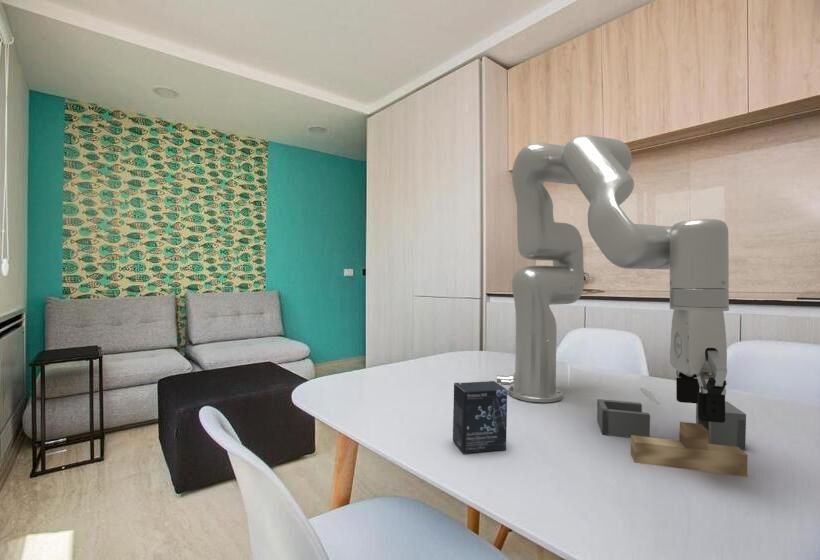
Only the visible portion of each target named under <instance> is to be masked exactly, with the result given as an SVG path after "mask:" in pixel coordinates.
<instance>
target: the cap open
mask: <svg viewBox="0 0 820 560" xmlns="http://www.w3.org/2000/svg"><path fill="white" fill-rule="evenodd" d="M596 406H597V411H596V412H597V413H596V421H597V425H598V426H599V429H601V430H600V432H601V434H602V435H603V436H614V437H623V438H630V439H631V435H635V436H644V437H650V435H651V414H650V413H649V412H644V411H643V404H642V403H641V402H635V401H623V400H613V399H602V398H597V405H596ZM642 411H643V412H642Z"/></svg>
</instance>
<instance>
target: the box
mask: <svg viewBox="0 0 820 560" xmlns="http://www.w3.org/2000/svg"><path fill="white" fill-rule="evenodd" d="M452 414H453V415H452V416H453V417H452V441H453V442H454V444H455V445H456V447H457V449H459V451H460V452H461V453H462V454H463V455H465V454H469V453H470V454H471V453H472V454H473V453H481V452H493V451H506V449H507V426H508V425H507V417H508V389H507V388H506V387H504V386H503V385H501V384H500V383H497V381H495V380H490V381H472V382H471V381H470V382H454V383H453V412H452Z"/></svg>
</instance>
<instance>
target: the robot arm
mask: <svg viewBox="0 0 820 560" xmlns="http://www.w3.org/2000/svg"><path fill="white" fill-rule="evenodd" d="M632 156H633V155H632V152H631V149H630V148H629V146H628V145H627V144H626V143H625V142H624V141H622V140H619V139H616V138H610V137H604V136H599V135H589V134H584V135H579V136H575V137H574V138H572V139H570V140H568V142H567V143H565V145H560V144H555V143H554V144H553V143H547V142H546V143H545V142H544V143H543V142H539V143H538V142H537V143H531V144H527V145H526V146H524V147H523V148H521V149H520V150H519V152H518V153H517V155H516V157H515V159H514V162H513V166H512V169H511V170H512V171H511V173H512V174H511V179H512V187H513V192H514V197H515V202H516V224H517V225H516V227H517V228H516V231H517V234H516V235H517V237H516V238H517V248H518V253H519V255H520V256H521V257H522V258H524V259H526V260H531V261H547V262H548V261H551V262H552V265H527V266H524V267H522V268H520V269H518V270H516V272H515V274H514V275H513V277H512V279H511V280H512V281H511V288H512V295H513V300H514V309H515V360H514V361H515V363H514V364H515V365H514V366H515V371H514V373H513V374H511V375H509V376H505V375H496V383H498V384H500V385H501V386H509V387H508V394H509V396H511V397H512V398H514V399H517V400H521V401H524V402H532V403H542V404H543V403H554V402H559V401H561V400H562V399H563V392H562V391H561V390H560V389H558V388H557V386H556V385H557V336H558V335H557V329H558V328H557V320H556V318H555V315H554V313H553V311H552V310H551V307H550V306H551V305H569V304H574V303H576V302H577V301H579V299H580V298H581V297H582V295H583V291H584V284H585V282H584V280H585V279H584V278H585V277H584V276H585V275H584V274H585V271H584V246H583V245H584V244H583V238H582V235H581V234H580V231H579V230H578V228H577V227H576V226H575V225H574V224H570V223H566V222H557V221H555V219H554V204H553V200H552V197H551V195H550V193H549V191H548V189H547V188H546V186H545V185H544V182H547V183H555V184H556V183H557V184H566V185H576V186H577V188H578V189H579V190H580V192H581V194H583V196H584V198H585V199H586V200H587V202H588V203H589V206H588V210H587V227H588V232H589V234H590V236H591V238H592V240H593V241H594V243H595V244H596V246H597V247H598V249H599V251H600V252H601V253H602V254H603V256H604V257H605V258H606V259H607V260H608V261H609V262H610V263H611V264H613V265H615V266H617V267H619V268H622V269H627V270H628V269H633V270H641V269H642V270H669V309H670V310H672V311H673V312H672V319H671V330H670V331H671V332H670V348H669V349H670V350H669V351H670V353H669V354H670V355H669V363H670V366H671V367H672V368H674V369H675V370H676V371H675V372H676V373H675V374H676V377H675V378H676V381H675V382H676V384H675V385H676V386H675V387H676V388H675V389H676V390H675V391H676V401H677V402H679V403H682V404H683V403H685V404H696V403H698V419H699V420H701V421H708V422H720V423H723V422H725V401H726V394H727V389H726V386H727V384H728V383H727V380H726V378H727V375H728V365H727V364H728V352H727V351H728V349H727V334H726V333H727V332H726V322H725V315H724V314H725V313H724V312H728V311H729V310H730V308H729V307H730V305H729V304H730V303H729V302H730V295H729V294H730V293H729V291H730V290H729V284H730V283H729V281H730V280H729V279H730V278H729V273H730V271H729V262H730V261H729V227H728V225H727V223H726V222H725V221H723V220H721V219H714V218H703V219H702V218H701V219H699V218H698V219H690V220H689V219H688V220H682V221H680V222H676V223H674V224H673V225H672V226H671V225H670V226H669V225H656V224H655V225H654V224H645V223H643V224H641V223H633V221H632V220H630V218H629V217H628V216H627V214H626V213H625V212H624V211H623V209H622V208H621V205H622V204H623V203H624V202H625V201H626V200H627V199H628V198H629V197H630V196H631V194H632V192H633V190H634V186H635V181H634V179H633V176H631V175H630V173H629V172H628V171H630V168H631V166H632V159H633V157H632ZM706 380H707V382H706Z"/></svg>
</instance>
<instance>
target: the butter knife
mask: <svg viewBox="0 0 820 560" xmlns="http://www.w3.org/2000/svg"><path fill="white" fill-rule="evenodd" d="M640 390H641V391H643V392H642V393H644V395H645V394H646V395H647V396H646V395H645V396H646V397H647V398H649V399H650V401H652V402H653V401H654V402H653V403H654V404H655V403H656V404H655V405H660V404H659V403H660V402H659V401H658V399H656V397H655V396H654V394H653V392H652V391H651V390H650V391H651V392H650V391H648V390H649V389H648V388H643V387H642V388H640Z"/></svg>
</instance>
